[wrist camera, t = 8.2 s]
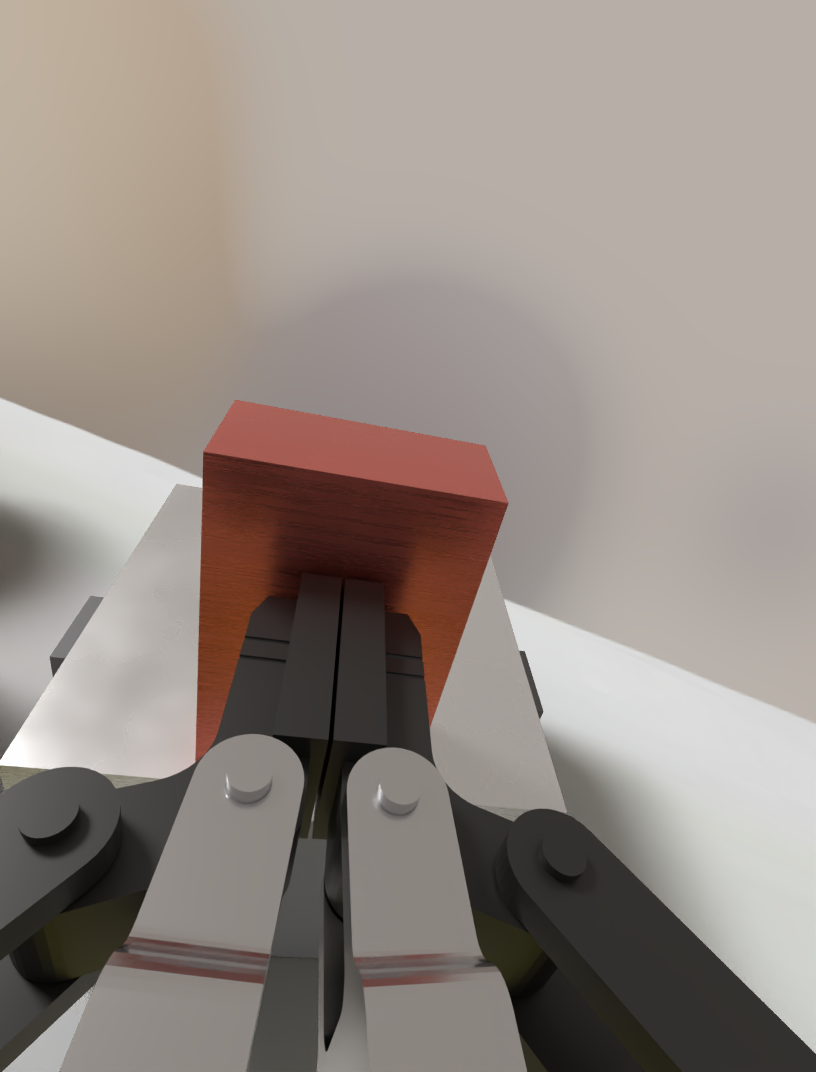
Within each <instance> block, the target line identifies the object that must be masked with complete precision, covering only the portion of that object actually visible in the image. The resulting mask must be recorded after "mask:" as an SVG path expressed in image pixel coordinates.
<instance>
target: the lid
mask: <svg viewBox="0 0 816 1072" xmlns="http://www.w3.org/2000/svg"><path fill="white" fill-rule="evenodd" d="M507 506H508V501H507V498H506V496H505V493H504V491H503V488H502V486H501V483H500V481H499V478H498V476H497V473H496V471H495V468H494V466H493V463H492V461H491V458H490V456H489V453H488V451H487V448H486V446H484V445H479V444H473V443H468V442H462V441H457V440H451V439H446V438H441V437H435V436H430V435H424V434H419V433H414V432H408V431H403V430H397V429H392V428H386V427H380V426H375V425H370V424H365V423H359V422H354V421H348V420H343V419H337V418H332V417H326V416H321V415H315V414H309V413H304V412H299V411H293V410H288V409H283V408H277V407H272V406H266V405H261V404H255V403H250V402H244V401H239V400H235V401H234V403H233V404H232V406H231V408H230V409H229V411H228V413H227V414H226V416H225V418H224V419H223V421H222V422H221V424H220V426H219V427H218V429H217V431H216V432H215V434H214V436H213V437H212V439H211V440H210V442H209V444H208V445H207V447H206V448H205V450H204V453H203V488H198V487H192V486H185V485H179V484H176V486H175V487H174V489H173V490H172V492H171V494H170V495H169V497H168V498H167V500H166V501H165V503H164V504H163V506H162V508H161V509H160V511H159V512H158V514H157V515H156V517H155V519H154V520H153V522H152V523H151V525H150V526H149V528H148V530H147V531H146V533H145V534H144V536H143V537H142V539H141V541H140V542H139V544H138V545H137V547H136V548H135V550H134V552H133V553H132V555H131V556H130V558H129V559H128V561H127V563H126V564H125V566H124V567H123V569H122V570H121V572H120V573H119V575H118V577H117V578H116V580H115V581H114V583H113V584H112V586H111V588H110V589H109V591H108V592H107V594H106V595H105V597H104V599H103V600H102V602H101V603H100V605H99V606H98V608H97V610H96V611H95V613H94V614H93V616H92V617H91V619H90V621H89V622H88V624H87V625H86V627H85V628H84V630H83V631H82V633H81V635H80V636H79V638H78V639H77V641H76V642H75V644H74V646H73V647H72V649H71V650H70V652H69V653H68V655H67V657H66V658H65V660H64V661H63V663H62V664H61V666H60V668H59V669H58V671H57V672H56V674H55V675H54V677H53V679H52V680H51V682H50V683H49V685H48V686H47V688H46V690H45V691H44V693H43V694H42V696H41V697H40V699H39V700H38V702H37V704H36V705H35V707H34V708H33V710H32V711H31V713H30V715H29V716H28V718H27V719H26V721H25V722H24V724H23V726H22V727H21V729H20V730H19V732H18V733H17V735H16V737H15V738H14V740H13V741H12V743H11V744H10V746H9V748H8V749H7V751H6V752H5V754H4V755H3V757H2V758H1V760H0V777H1V781H2V784H3V788H4V791H5V790H7V789H8V788H10V787H12V786H13V785H15V784H17V783H18V782H20V781H22V780H24V779H26V778H28V777H30V776H32V775H35V774H37V773H40V772H42V771H46V770H50V769H54V768H60V767H82V768H88V769H91V770H94V771H97V772H99V773H100V774H102V775H104V776H105V777H106V778H108V779H109V780H110V781H111V782H112V784H113V785H114V786H115V788H121V787H126V786H131V785H136V784H141V783H146V782H150V781H155V780H159V779H163V778H167V777H169V776H172V775H174V774H177V773H179V772H181V771H183V770H185V769H186V768H188V767H190V766H191V765H192V764H194V763H195V762H197V761H198V760H199V759H200V758H201V757H202V756H203V755H204V754H205V753H206V752H207V751H208V749H209V748H210V747H211V745H212V743H213V742H214V740H215V738H216V735H217V733H218V730H219V726H220V722H221V719H222V715H223V712H224V708H225V705H226V701H227V698H228V694H229V691H230V687H231V683H232V680H233V676H234V673H235V669H236V666H237V662H238V659H239V656H240V651H241V648H242V644H243V641H244V639H245V634H246V630H247V627H248V623H249V620H250V616H251V613H252V612H253V611H254V610H255V609H256V608H257V607H258V606H259V605H260V604H261V603H262V602H263V601H264V600H265V599H266V598H267V597H268V596H275V597H282V598H290V599H298V594H299V589H300V583H301V578H302V573H303V572H306V573H314V574H321V575H328V576H335V577H341V578H342V582H341V592H342V587H343V582H344V578H350V579H357V580H364V581H371V582H378V583H383V584H384V610H385V611H388V612H395V613H403V614H408V615H409V617H410V619H411V620H412V622H413V623H414V625H415V627H416V628H417V630H418V631H419V633H420V635H421V644H422V654H423V659H422V662H423V664H424V674H425V677H424V681H425V685H426V695H427V705H428V715H429V726H430V736H431V746H432V754H433V760H434V762H435V765H436V768H437V770H438V771H439V773H440V774H441V776H442V777H443V779H444V781H445V783H446V784H447V785H448V786H449V787H450V788H451V789H452V790H453V791H454V792H455V793H456V794H458V795H459V796H460V797H461V798H463V799H464V800H466V801H467V802H469V803H471V804H473V805H475V806H477V807H480V808H482V809H484V810H487V811H489V812H492V813H494V814H496V815H499V816H501V817H504V818H506V819H509V820H511V821H513V822H514V821H515V820H516V819H517V818H518V817H519V816H520V815H522V814H523V813H525V812H527V811H530V810H533V809H539V808H541V809H552V810H556V811H559V812H562V813H565V814H567V810H566V806H565V803H564V800H563V796H562V793H561V790H560V786H559V783H558V780H557V776H556V773H555V770H554V766H553V763H552V760H551V756H550V753H549V750H548V746H547V743H546V740H545V736H544V733H543V730H542V726H541V723H540V720H539V716H538V713H537V709H536V706H535V703H534V699H533V696H532V693H531V689H530V686H529V683H528V679H527V676H526V673H525V669H524V666H523V663H522V659H521V656H520V653H519V649H518V646H517V643H516V639H515V636H514V633H513V629H512V626H511V623H510V619H509V616H508V612H507V609H506V606H505V602H504V599H503V596H502V592H501V589H500V586H499V583H498V579H497V576H496V572H495V569H494V566H493V562H492V559H491V556H490V554H491V552H492V549H493V546H494V543H495V540H496V537H497V534H498V531H499V529H500V525H501V523H502V520H503V517H504V514H505V512H506V509H507ZM340 597H341V594H340ZM314 810H315V805H314ZM314 810H313V815H312V819H311V821H314Z"/></svg>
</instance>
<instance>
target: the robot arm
mask: <svg viewBox="0 0 816 1072" xmlns="http://www.w3.org/2000/svg"><path fill="white" fill-rule="evenodd" d="M341 582H342V578H341V577H335V576H328V575H321V574H314V573H306V572H303V573H302V578H301V583H300V589H299V594H298V599H290V598H282V597H275V596H268V597H267V598H266V599H265V600H264V601H263V602H262V603H261V604H260V605H259V606H258V607H257V608H256V609H255V610H254V611H253V612H252V613H251V616H250V620H249V623H248V627H247V630H246V634H245V639H244V641H243V644H242V648H241V651H240V656H239V659H238V662H237V666H236V669H235V673H234V676H233V680H232V683H231V687H230V691H229V694H228V698H227V701H226V705H225V708H224V712H223V715H222V719H221V722H220V726H219V730H218V733H217V735H216V738H215V740H214V742H213V743H212V745H211V747H210V748H209V749H208V751H207V752H206V753H205V754H204V755H203V756H202V757H201V758H200V759H199V760H198V761H197V762H195V763H194V764H192V765H191V766H190V767H188V768H186V769H185V770H183V771H181V772H179V773H177V774H174V775H172V776H169V777H167V778H163V779H159V780H155V781H150V782H146V783H141V784H136V785H131V786H126V787H121V788H115V786H114V785H113V784H112V782H111V781H110V780H109V779H108V778H106V777H105V776H104V775H102V774H100V773H99V772H97V771H94V770H91V769H88V768H82V767H60V768H54V769H50V770H46V771H42V772H40V773H37V774H35V775H32V776H30V777H28V778H26V779H24V780H22V781H20V782H18V783H17V784H15V785H13V786H12V787H10V788H8V789H7V790H5V791H3V792H2V793H0V1072H2V1071H3V1070H4V1069H5V1068H6V1067H7V1066H8V1065H9V1064H11V1063H12V1062H13V1061H14V1060H15V1059H16V1058H17V1057H18V1056H19V1055H20V1054H21V1053H22V1052H23V1051H24V1050H25V1049H26V1048H27V1047H29V1046H30V1045H31V1044H32V1043H33V1042H34V1041H35V1040H36V1039H37V1038H38V1037H39V1036H40V1035H41V1034H42V1033H43V1032H44V1031H46V1030H47V1029H48V1028H49V1027H50V1026H51V1025H52V1024H53V1023H54V1022H55V1021H56V1020H57V1019H58V1018H59V1017H60V1016H61V1015H63V1014H64V1013H65V1012H66V1011H67V1010H68V1009H69V1008H70V1007H71V1006H72V1005H73V1004H74V1003H75V1002H76V1001H77V1000H78V999H79V998H81V997H82V996H83V995H84V994H85V993H86V992H87V991H88V990H89V989H90V988H91V987H92V986H93V985H94V984H95V983H96V984H95V987H94V989H93V991H92V994H91V996H90V998H89V1001H88V1003H87V1005H86V1008H85V1010H84V1013H83V1015H82V1018H81V1020H80V1022H79V1025H78V1027H77V1030H76V1032H75V1035H74V1037H73V1039H72V1042H71V1044H70V1047H69V1049H68V1051H67V1054H66V1056H65V1059H64V1061H63V1064H62V1066H61V1068H60V1071H59V1072H248V1067H249V1062H250V1057H251V1052H252V1047H253V1042H254V1037H255V1032H256V1027H257V1022H258V1017H259V1012H260V1007H261V1002H262V997H263V992H264V987H265V982H266V977H267V972H268V967H269V962H270V957H271V952H272V947H273V942H274V937H275V932H276V927H277V922H278V917H279V912H280V907H281V902H282V898H283V896H284V894H285V892H286V891H287V888H288V886H289V883H290V879H291V874H292V869H293V864H294V859H295V854H296V849H297V844H298V839H299V838H305V839H307V838H308V833H309V829H310V824H311V819H312V815H313V810H314V805H315V810H314V821H313V831H312V839H324V840H327V845H326V859H325V872H324V876H323V880H322V884H321V888H320V895H319V997H318V1060H317V1072H816V1054H815V1053H814V1052H813V1051H812V1050H811V1049H810V1048H809V1047H808V1046H807V1045H806V1044H805V1043H804V1042H803V1041H802V1040H801V1039H800V1038H799V1037H798V1036H797V1035H796V1034H795V1033H794V1032H793V1031H792V1030H791V1029H790V1028H789V1027H788V1026H787V1025H786V1024H785V1023H784V1022H783V1021H782V1020H781V1019H780V1018H779V1017H778V1016H777V1015H776V1014H775V1013H774V1012H773V1011H772V1010H771V1009H770V1008H769V1007H768V1006H767V1005H766V1004H765V1003H764V1002H763V1001H762V1000H761V999H760V998H759V997H757V996H756V995H755V994H754V993H753V992H752V991H751V990H750V989H749V988H748V987H747V986H746V985H745V984H744V983H743V982H742V981H741V980H740V979H739V978H738V977H737V976H736V975H735V974H734V973H733V972H732V971H731V970H730V969H729V968H728V967H727V966H726V965H725V964H724V963H723V962H722V961H721V960H720V959H719V958H718V957H717V956H716V955H715V954H714V953H713V952H712V951H711V950H710V949H709V948H708V947H707V946H706V945H705V944H704V943H703V942H702V941H701V940H700V939H699V938H698V937H697V936H696V935H695V934H694V933H693V932H692V931H691V930H690V929H689V928H688V927H687V926H686V925H685V924H684V923H683V922H682V921H680V920H679V919H678V918H677V917H676V916H675V915H674V914H673V913H672V912H671V911H670V910H669V909H668V908H667V907H666V906H665V905H664V904H663V903H662V902H661V901H660V900H659V899H658V898H657V897H656V896H655V895H654V894H653V893H652V892H651V891H650V890H649V889H648V888H647V887H646V886H645V885H644V884H643V883H642V882H641V881H640V880H639V879H638V878H637V877H636V876H635V875H634V874H633V873H632V872H631V871H630V870H629V869H628V868H627V867H626V866H625V865H624V864H623V863H622V862H621V861H620V860H619V859H618V858H617V857H616V856H615V855H614V854H613V853H612V852H611V851H610V850H609V849H608V848H607V847H606V846H604V845H603V844H602V843H601V842H600V841H599V840H598V839H597V838H596V837H595V836H594V835H593V834H592V833H591V832H590V831H589V830H588V829H587V828H586V827H585V826H584V825H583V824H581V823H580V822H578V821H577V820H576V819H574V818H572V817H571V816H569V815H567V814H565V813H562V812H559V811H556V810H552V809H541V808H539V809H533V810H530V811H527V812H525V813H523V814H522V815H520V816H519V817H518V818H517V819H516V820H515V821H514V822H513V821H511V820H509V819H506V818H504V817H501V816H499V815H496V814H494V813H492V812H489V811H487V810H484V809H482V808H480V807H477V806H475V805H473V804H471V803H469V802H467V801H466V800H464V799H463V798H461V797H460V796H459V795H458V794H456V793H455V792H454V791H453V790H452V789H451V788H450V787H449V786H448V785H447V784H446V783H445V781H444V779H443V777H442V776H441V774H440V773H439V771H438V770H437V768H436V765H435V762H434V760H433V754H432V746H431V736H430V726H429V715H428V705H427V695H426V685H425V681H424V677H425V674H424V664H423V662H422V659H423V654H422V644H421V635H420V633H419V631H418V630H417V628H416V627H415V625H414V623H413V622H412V620H411V619H410V617H409V615H408V614H403V613H395V612H388V611H385V610H384V584H383V583H378V582H371V581H364V580H357V579H350V578H344V582H343V587H342V592H341ZM340 594H341V597H340Z"/></svg>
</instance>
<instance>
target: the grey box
mask: <svg viewBox="0 0 816 1072" xmlns="http://www.w3.org/2000/svg"><path fill="white" fill-rule="evenodd" d="M103 599H104V598H103V597H95V596H90V598H89V599H88V601H87V602H86V604H85V605H84V606H83V608H82V609H81V611H80V612H79V614H78V615H77V617H76V618H75V620H74V621H73V623H72V624H71V626H70V627H69V629H68V630H67V632H66V633H65V635H64V636H63V638H62V639H61V641H60V642H59V644H58V645H57V647H56V648H55V650H54V651H53V653H52V654H51V656H50V661H51V668H52V674H53V677H54V675H55V674H56V672H57V671H58V669H59V668H60V666H61V664H62V663H63V661H64V660H65V658H66V657H67V655H68V653H69V652H70V650H71V649H72V647H73V646H74V644H75V642H76V641H77V639H78V638H79V636H80V635H81V633H82V631H83V630H84V628H85V627H86V625H87V624H88V622H89V621H90V619H91V617H92V616H93V614H94V613H95V611H96V610H97V608H98V606H99V605H100V603H101V602H102V600H103ZM519 653H520V656H521V659H522V663H523V666H524V669H525V673H526V676H527V679H528V683H529V686H530V689H531V693H532V696H533V699H534V703H535V706H536V709H537V713H538V716H539V720H540V718H541V716H542V714H543V709H542V706H541V702H540V699H539V696H538V693H537V689H536V686H535V683H534V680H533V677H532V673H531V670H530V667H529V664H528V660H527V657H526V654H525V651H519ZM312 831H313V821H311V824H310V829H309V833H308V838H307V839H305V838H299V839H298V844H297V849H296V854H295V859H294V864H293V869H292V874H291V879H290V883H289V886H288V888H287V891H286V892H285V894H284V896H283V898H282V902H281V907H280V912H279V917H278V922H277V927H276V932H275V937H274V942H273V947H272V952H271V956H275V957H300V958H319V895H320V888H321V884H322V880H323V876H324V872H325V859H326V845H327V840H324V839H312Z"/></svg>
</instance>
